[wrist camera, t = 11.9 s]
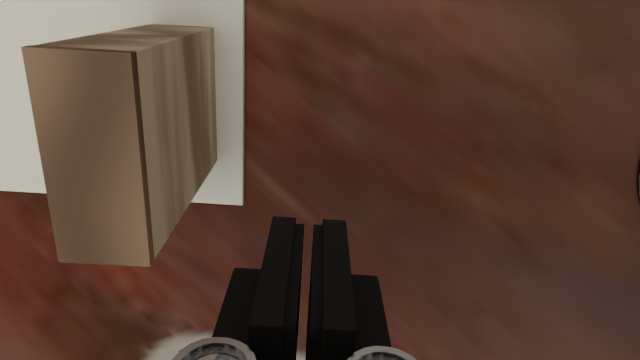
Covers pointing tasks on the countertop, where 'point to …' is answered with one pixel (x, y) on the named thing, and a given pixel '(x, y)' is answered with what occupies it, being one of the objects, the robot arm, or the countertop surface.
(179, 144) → the slab
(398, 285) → the countertop surface
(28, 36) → the mat
